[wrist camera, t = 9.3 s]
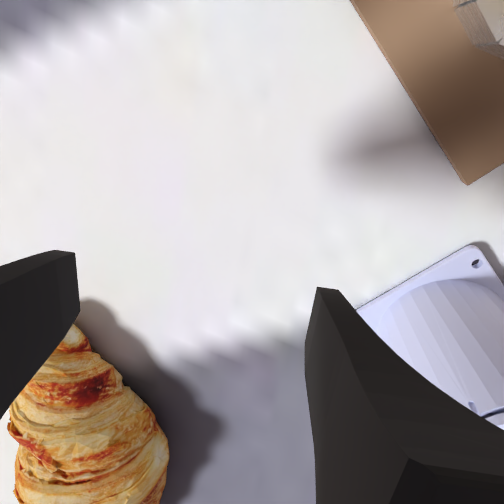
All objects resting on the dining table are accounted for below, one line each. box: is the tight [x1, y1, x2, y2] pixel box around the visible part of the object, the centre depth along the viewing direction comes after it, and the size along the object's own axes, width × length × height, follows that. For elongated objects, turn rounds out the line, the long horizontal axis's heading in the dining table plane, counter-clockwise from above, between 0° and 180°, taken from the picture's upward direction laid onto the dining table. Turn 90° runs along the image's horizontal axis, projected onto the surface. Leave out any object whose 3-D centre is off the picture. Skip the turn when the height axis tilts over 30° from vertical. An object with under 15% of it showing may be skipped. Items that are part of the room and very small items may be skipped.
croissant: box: [7, 324, 170, 504], centre depth 26 cm, size 21×10×8 cm, turn 9°
